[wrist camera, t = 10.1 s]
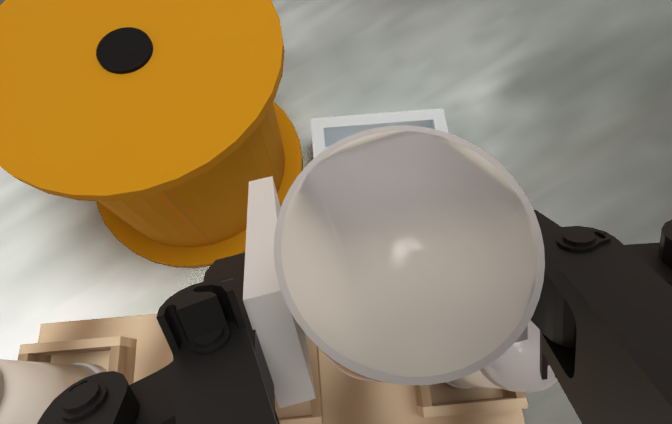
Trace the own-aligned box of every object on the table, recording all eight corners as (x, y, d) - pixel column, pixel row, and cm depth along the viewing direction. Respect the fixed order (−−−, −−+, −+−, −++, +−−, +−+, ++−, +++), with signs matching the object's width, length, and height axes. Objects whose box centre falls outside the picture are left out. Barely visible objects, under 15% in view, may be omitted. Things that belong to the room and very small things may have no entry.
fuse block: (486, 289, 34) (506, 277, 30) (515, 429, 31) (543, 437, 27) (57, 327, 34) (17, 319, 29) (36, 475, 30) (-13, 490, 26)
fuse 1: (115, 361, 31) (-13, 350, 20) (109, 420, 29) (-31, 444, 18) (61, 366, 31) (-98, 357, 20) (53, 425, 29) (-124, 453, 18)
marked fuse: (408, 278, 18) (511, 116, 7) (422, 376, 17) (578, 372, 5) (317, 286, 18) (270, 135, 7) (324, 384, 17) (277, 397, 5)
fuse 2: (478, 329, 31) (554, 300, 20) (489, 385, 30) (577, 388, 19) (425, 334, 31) (473, 307, 20) (434, 390, 30) (491, 396, 19)
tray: (433, 133, 40) (443, 108, 36) (455, 249, 36) (469, 234, 32) (313, 143, 39) (310, 118, 36) (322, 260, 35) (320, 246, 32)
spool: (163, 313, 34) (41, 266, 20) (64, 153, 39) (-88, 28, 25) (344, 184, 38) (346, 70, 24) (232, 55, 43) (180, -101, 29)
